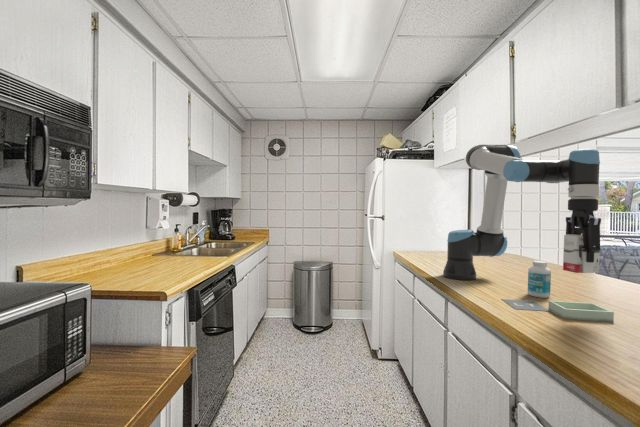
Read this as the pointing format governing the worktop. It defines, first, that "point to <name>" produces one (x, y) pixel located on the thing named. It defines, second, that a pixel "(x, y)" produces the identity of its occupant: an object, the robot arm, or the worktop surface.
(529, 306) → the label
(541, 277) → the pill bottle
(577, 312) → the tray
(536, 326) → the worktop surface
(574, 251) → the ink box
